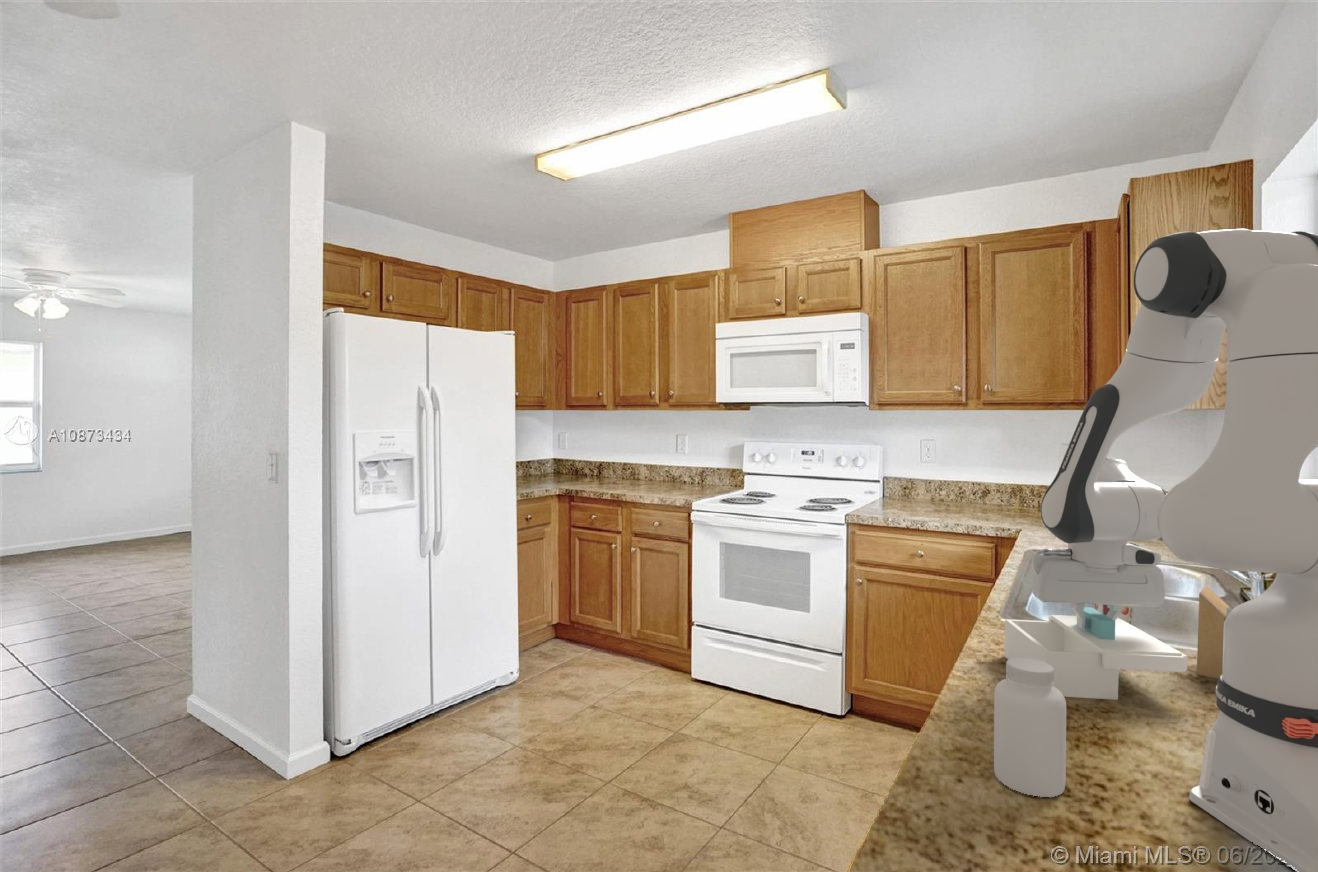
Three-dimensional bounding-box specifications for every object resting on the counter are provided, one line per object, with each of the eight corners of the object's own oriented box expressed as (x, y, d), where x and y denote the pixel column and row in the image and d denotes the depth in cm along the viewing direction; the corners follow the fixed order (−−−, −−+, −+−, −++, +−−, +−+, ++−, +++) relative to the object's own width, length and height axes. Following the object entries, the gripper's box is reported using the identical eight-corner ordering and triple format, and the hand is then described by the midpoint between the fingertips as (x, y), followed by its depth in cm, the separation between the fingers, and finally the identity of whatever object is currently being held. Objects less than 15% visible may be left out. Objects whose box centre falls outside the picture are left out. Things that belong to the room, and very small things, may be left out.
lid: (1190, 672, 106) (1191, 635, 106) (1104, 668, 108) (1105, 631, 108) (1119, 631, 126) (1120, 599, 126) (1048, 628, 128) (1049, 596, 128)
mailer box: (1117, 699, 109) (1119, 656, 108) (1045, 695, 110) (1046, 652, 110) (1066, 659, 127) (1067, 621, 126) (1004, 656, 128) (1005, 619, 128)
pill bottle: (1000, 758, 90) (1003, 648, 89) (1070, 779, 85) (1073, 663, 84) (985, 784, 84) (988, 666, 83) (1059, 808, 79) (1062, 682, 78)
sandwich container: (1316, 701, 109) (1319, 610, 108) (1196, 675, 120) (1198, 592, 119) (1316, 686, 115) (1319, 599, 115) (1201, 662, 126) (1204, 583, 125)
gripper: (1041, 551, 115) (1040, 631, 116) (1171, 555, 112) (1169, 637, 113) (1026, 544, 121) (1025, 620, 122) (1149, 548, 119) (1147, 625, 119)
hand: (1095, 628), depth 117 cm, fingers closed on lid, 2 cm apart
